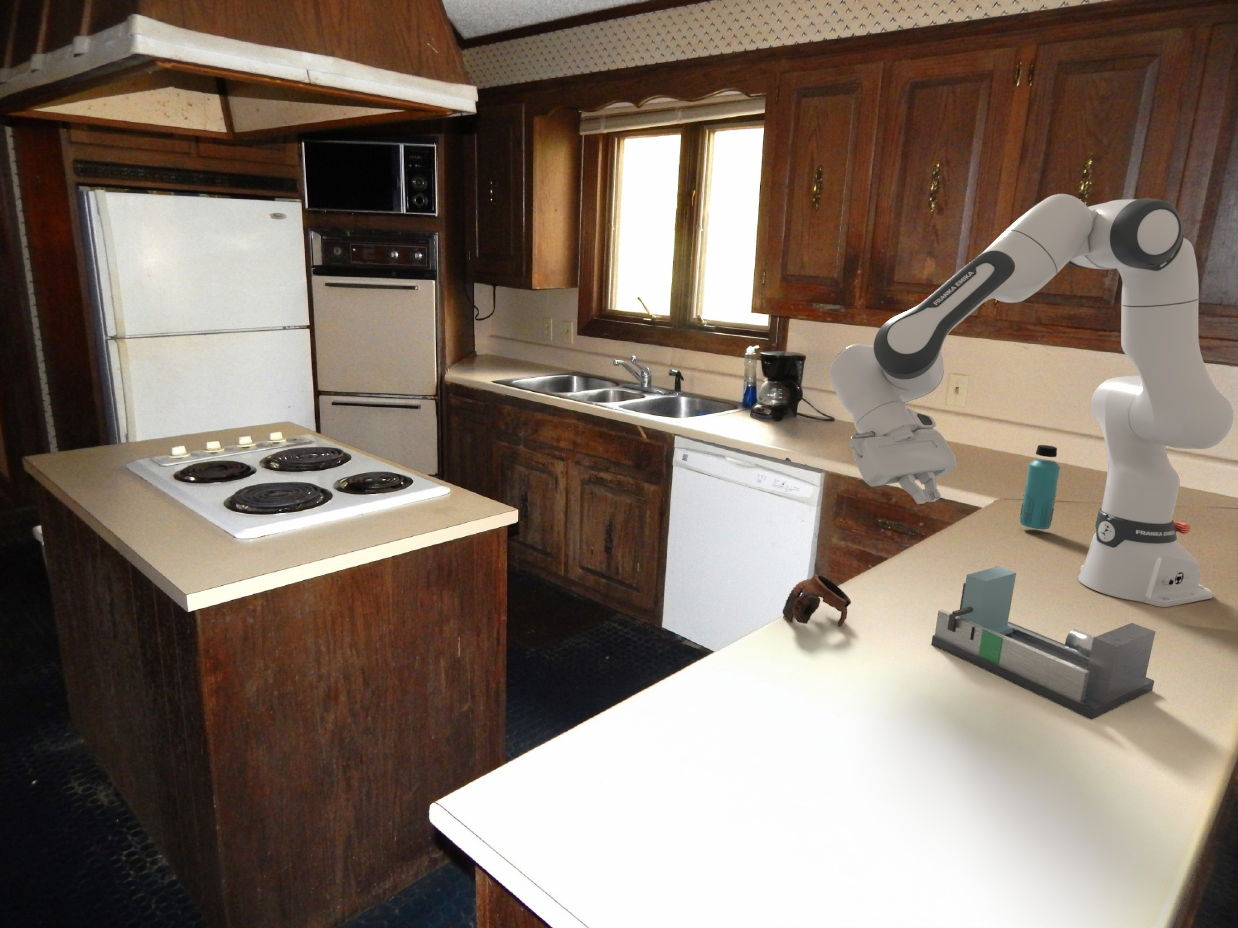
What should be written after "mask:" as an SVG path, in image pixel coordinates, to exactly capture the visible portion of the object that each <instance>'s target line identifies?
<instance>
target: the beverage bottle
mask: <svg viewBox="0 0 1238 928" xmlns="http://www.w3.org/2000/svg"><path fill="white" fill-rule="evenodd" d="M1057 451H1058V447H1056V446H1053V445H1047V444H1039V445H1037V447H1036V451H1035V455H1037V456H1041V457H1048V458H1057V454H1058V453H1057ZM1060 469H1061V467H1060V465H1059V464H1058V463H1057V462H1056V461H1054V460H1050V459H1045V458H1043V459H1042V458H1035V459H1033V460H1032V461H1030V462H1029V463H1028V470H1027V476H1026V484H1025V486H1024V493H1023V495H1022V496H1023V498H1022V504H1021V507H1020V509H1021V510H1020V514H1019V515H1020V517H1019V520H1020V521H1019V522H1020V525H1021V526H1023V527H1027V528H1030V529H1035V530H1048V529H1050V527H1051V526H1052V520H1053V516H1054V510H1055V508H1054V507H1055V503H1056V497H1057V490H1058V489H1057V486H1058V480H1059V475H1060Z"/></svg>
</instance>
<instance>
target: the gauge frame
mask: <svg viewBox="0 0 1238 928" xmlns="http://www.w3.org/2000/svg"><path fill="white" fill-rule="evenodd" d="M950 614H952V612H950V611H947V610H945V609H938V611H937V617H936V625H935V631H934V634H933V635H932V637H931V646H933V647H935V648H938V649H940V650H942V651H944V652H946V653H948V654H951V655H953V656H955V657H957V658H959V659H961V660H963V661H966V662H967V663H969V664H972V665H973V666H975V667H978V668H980V669H982V670H985V671H987V672H989V673H990V674H993V675H994V676H997V677H999V678H1001V679H1003V680H1006V681H1008V682H1010V683H1012V684H1013V685H1016V686H1019V687H1021V688H1023V689H1024V690H1027V691H1029V692H1031V693H1033V694H1035V695H1037V696H1039V697H1042V698H1045V699H1046V700H1049V701H1050V702H1053V703H1055V704H1057V705H1059V706H1061V707H1063V708H1066V709H1068V710H1070V711H1072V712H1074V713H1076V714H1079V716H1080V715H1081V716H1082V717H1085V718H1086V719H1089V720H1091V721H1092V720H1094V719H1096V718H1098V717H1100V716H1102V715H1105V714H1106V713H1109V712H1110V711H1113V710H1115V709H1117V708H1120V707H1121V706H1123V705H1126V704H1127V703H1129V702H1131V701H1134V700H1135V699H1137V698H1140V697H1142V696H1144V695H1145V694H1148V693H1150V692H1152V691H1153V689H1154V684H1155V680H1154V679H1152V678H1150V677H1147V673H1148V669H1149V662H1150V659H1151V654H1152V651H1153V645H1154V641H1155V635H1156V631H1155V630H1154V629H1150V628H1147V627H1145V626H1141V625H1139V624H1136V623H1135V622H1134V623H1133V622H1131V623H1128V624H1126V625H1123V626H1120V627H1118V628H1115V629H1112V630H1110V631H1107V632H1104V633H1101V634H1098V635H1097V636H1094V635H1091V634H1089V633H1086V632H1083V631H1080V630H1078V629H1076V628H1075V629H1074V628H1073V629H1071V630H1070V631H1069V632H1068V634H1067V636H1066V638H1065V643H1064V642H1063V643H1062V642H1060V641H1058V640H1055V639H1053V638H1051V637H1048V636H1046V635H1043V634H1041V633H1038V632H1036V631H1033V630H1030V629H1028V628H1025V627H1023V626H1021V625H1019V624H1016V623H1013V622H1011V621H1009V620H1008V625H1009V626H1011V627H1013V632H1012V633H1009V634H1006V635H1002V634H1000V633H998V632H995V631H993V630H990V629H988V628H986V627H983V626H981V625H979V624H976V623H974V622H972V621H969V620H967V619H964V618H962V617H960V616H957V617H955V623H954V630H952V631H950V630H948V622H949V616H950Z"/></svg>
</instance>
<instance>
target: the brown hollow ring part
mask: <svg viewBox="0 0 1238 928" xmlns="http://www.w3.org/2000/svg"><path fill="white" fill-rule="evenodd" d="M788 595H789V596H787V599H786V600H785V604H784V606H783V609H782V614H783V616H784V618H785V619H786V620H787V622H788V623H792V622H793V618H794V619H795V621H796V622H797V623H801V624H808V622H809V621H810V619H811V617H812V615H813V614H815V612H816V610H818V609H819V607H820V605H821V604H820V603H821V599H822V602H823V603H825V604H826V605H828V606H830V607H831V608H834V609H836V611H838V612H839V613H840V618H839V620H838V622H837V626H838V627H839V628H841V627H843V624H844V623H845V621H846V619H847V618H848V617H847V616H848V607H849V606H850V605H851V604H852V600H851V599H850V598H849V596H848V595H847V594H846V593H845V592H844V591H843V590H842V589H841V588H840V587H839V586H838V585H837V584H835V583H834V582H832V581H831V580H829V579H828V578H826V577H825V576H823V575H821V574H819V573H818V574H817V573H814V574H813V575H812V577H811V578H809V579H804V580H802V581H799V582H798V583H797V584H796V585H795V586H794V587H793V588H792V589H791V591H790V592H789V594H788Z"/></svg>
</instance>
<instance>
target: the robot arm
mask: <svg viewBox="0 0 1238 928" xmlns="http://www.w3.org/2000/svg"><path fill="white" fill-rule="evenodd" d="M1183 230H1184V226H1183V222H1182V218H1181V216H1180V214H1179V212H1178V210H1177V209H1176V207H1175V206H1174V205H1172V204H1171V203H1170V202H1167V201H1165V200H1161V199H1157V198H1149V197H1148V198H1147V197H1143V198H1138V199H1130V198H1129V199H1115V200H1114V199H1113V200H1110V201H1107V202H1103V203H1098V204H1094V205H1093V204H1090V205H1087V204H1086V203H1084V202H1083V200H1081V199H1079V198H1078V197H1077V196H1074V195H1071V194H1066V193H1057V194H1053V195H1050V196H1047V197H1046V198H1044V199H1043V200H1042V201H1040V202H1038V203H1036V204H1035V205H1034V206H1033V207H1031V208H1030V209H1029V210H1028V211H1026V212H1025V213H1024V214H1022V215H1021V216H1020V217H1018V219H1016V220H1015V221H1014V222H1013V223H1012V224H1011V225H1010V226H1008V227H1007V228H1006V229H1005V230H1004V231H1003V232H1002V233H1001V234H1000V235H999V236H998V237H997V238H996V239H995V240H994V241H993V242H992V243H991V244H990V245H989V246H988V247H986V249H985V250H984V251H982V252H981V253H980V254H979V255H978V256H977V257H975V258H974V259H972V260H971V261H969V262H968V263H967V264H966V265H964V266H963V267H962V268H961V269H959V270H958V271H957V272H956V273H955V274H954V275H953V276H952V277H950V278H949V279H948V280H947V281H946V282H945V283H943V284H942V285H941V286H940V287H938V289H936V290H935V291H934V292H933V293H931V294H930V295H929V296H928V297H927V298H925V299H924V300H923V301H921V303H919V304H918V305H916V306H914V307H913V308H911V309H907V311H904V312H902V313H899V314H898V315H895V316H893V317H892V318H890V319H889V320H887V321H886V322H885V323H883V324H882V326H880V328H879V329H878V331H877V333H876V334H875V337H874V341H873V344H869V345H868V344H863V343H854V344H851V345H848V346H847V347H845V348H844V349H842V350H841V351H840V352H839V353H838V354H837V355H836V356H835V358H834V359H833V361H832V362H831V364H830V367H829V378H830V382H831V384H832V387H833V389H834V391H835V394H836V396H837V398H838V400H839V401H840V404H841V405H842V406H843V409H844V410H845V411H846V412H847V413H848V414H849V415H850V416H851V417H852V420H853V424H854V428H855V429H856V431H857V432H855V433H853V434H852V435H851V437H850V439H849V445H850V448H851V449H852V454H853V459H854V461H855V464H856V466H857V468H858V470H859V471H858V472H860V475H861V478H862V479H863V481H864V482H865V483H866V484H867V485H868V486H870V487H880V486H885V485H893V484H899V485H900V488H902V490H904V491H905V492H906V493H907V494H909V495H910V496H911V497H912V498H913V500H914V501H915V503H916V504H918V505H920V504H921V505H922V504H925V503H927V502H928V503H931V502H932V503H934V502H936V501H938V500H940V498H941V496H942V495H941V493H940V491H939V489H938V488H937V478H939V477H945V476H947V474H948V473H950V472H952V471H953V470H955V468H957V465H958V463H957V458H956V455H955V454H954V451H953V450H952V448H951V447H950V445H949V444H948V442H947V440H946V438H945V437H944V436H943V435H942V433H941V432H939V431H938V430H937V429H934V428H935V427H937V423H936V421H935V419H934V418H933V417H932V416H931V415H928V414H923V413H921V412H917V411H915V410H913V409H911V408H908V407H907V405H905V403H909V402H911V401H914V400H917V399H919V398H922V397H925V396H927V395H929V394H930V393H932V392H934V391H935V390H936V389H937V388H938V386H939V385H940V384H941V383H942V380H943V378H944V373H945V369H944V368H945V367H944V358H943V354H942V349H943V345H944V343H945V342H946V341H945V340H946V338H947V336H948V335H949V333H951V331H952V330H953V329H954V328H956V327H957V326H959V324H961V323H962V322H963V321H964V320H965V319H966V318H967V317H969V316H970V315H971V314H972V313H973V312H975V310H977V309H978V308H979V307H981V305H982V304H984V303H985V302H987V301H989V300H992V299H995V301H996V300H997V301H999V302H1002V303H1009V304H1012V303H1013V304H1014V303H1020V302H1023V301H1025V300H1026V299H1028V298H1030V297H1031V296H1033V295H1034V294H1036V293H1037V292H1038V291H1040V290H1041V289H1042V288H1044V287H1045V285H1046V284H1048V283H1049V282H1050V281H1051V280H1052V279H1053V278H1054V277H1055V276H1056V275H1057V274H1058V273H1059V272H1060V271H1062V269H1064V267H1065V266H1066V265H1070V266H1073V267H1075V268H1080V269H1094V270H1095V269H1097V270H1115V269H1116V270H1117V272H1118V273H1119V275H1120V277H1121V281H1122V286H1121V287H1122V288H1121V301H1120V302H1121V304H1120V305H1121V309H1120V311H1121V312H1120V313H1121V320H1120V321H1121V322H1120V323H1121V325H1120V328H1121V329H1120V334H1121V335H1120V339H1121V340H1120V345H1121V348H1122V352H1123V353H1124V354H1125V355H1126V356H1127V358H1129V360H1130V361H1131V362H1132V364H1133V365H1134V367H1135V369H1136V371H1137V373H1138V375H1125V376H1117V377H1115V376H1114V377H1111V378H1108V379H1106V380H1105V381H1102V383H1100V384H1099V385H1098V386H1097V388H1096V389H1095V390H1094V392H1093V394H1092V397H1091V400H1090V401H1091V402H1090V408H1091V409H1090V411H1091V414H1092V416H1093V418H1094V419H1095V420H1096V422H1097V424H1098V425H1099V427H1100V429H1101V432H1102V435H1103V439H1104V440H1103V441H1104V443H1105V450H1106V456H1107V459H1106V460H1107V473H1106V474H1107V475H1106V479H1105V480H1106V482H1105V487H1104V494H1103V499H1102V505H1101V507H1100V508H1099V509H1098V511H1097V514H1096V517H1095V518H1096V520H1095V526H1094V527H1095V531H1096V532H1095V533H1094V534H1093V537H1092V539H1091V543H1090V545H1089V548H1088V550H1087V551H1088V552H1087V554H1086V558H1085V561H1084V563H1083V564H1081V565H1080V568H1079V569H1080V573H1079V574H1078V576H1077V580H1078V581H1079V582H1080V583H1081V584H1082V585H1084V586H1086V587H1087V588H1090V589H1091V590H1093V591H1097V592H1099V593H1102V594H1105V595H1108V596H1112V597H1116V598H1119V599H1124V600H1127V601H1129V600H1131V601H1134V602H1140V603H1145V604H1147V605H1152V606H1156V607H1161V608H1167V607H1171V606H1172V607H1173V606H1178V605H1183V604H1189V603H1194V602H1199V601H1204V600H1209V599H1213V596H1214V593H1213V592H1212V590H1210V589H1209V588H1208V587H1206V586H1204V585H1202V584H1201V583H1200V581H1201V579H1200V578H1201V565H1200V563H1199V561H1198V560H1197V559H1196V558H1195V557H1194V556H1193V555H1192V554H1191V553H1190V552H1189V551H1188V550H1187V549H1186V548H1185V547H1183V546H1182V544H1180V542H1179V541H1177V533H1180V534H1182V535H1187V534H1189V532H1191V529H1192V528H1191V525H1190V524H1189V523H1187V522H1183V521H1180V520H1178V521H1176V522H1175V521H1174V520H1173V516H1174V512H1175V509H1176V508H1175V507H1176V504H1177V499H1178V495H1179V489H1180V485H1181V482H1180V477H1179V474H1178V472H1177V470H1175V468H1174V467H1173V466H1172V464H1171V461H1170V460H1169V458H1168V453H1167V448H1166V447H1168V448H1173V449H1179V450H1180V449H1181V450H1207V449H1210V448H1213V447H1216V446H1217V445H1218V444H1220V443H1221V442H1222V441H1223V440H1225V438H1226V437H1227V436H1228V434H1229V433H1230V431H1231V429H1232V427H1233V424H1234V423H1233V422H1234V410H1233V405H1232V404H1231V402H1230V401H1229V400H1228V399H1227V397H1225V395H1223V394H1222V393H1221V392H1220V391H1219V390H1218V389H1217V386H1216V385H1215V384H1214V383H1213V380H1212V378H1211V377H1210V375H1209V371H1208V370H1207V367H1206V365H1205V362H1204V359H1203V356H1202V353H1201V348H1200V339H1199V303H1200V302H1199V299H1200V298H1199V297H1200V293H1199V292H1200V291H1199V290H1200V287H1199V274H1198V273H1199V272H1198V266H1197V265H1198V263H1197V257H1196V254H1195V250H1194V246H1193V244H1192V243H1191V242H1190V240H1188V239H1187V238H1185V237H1184V231H1183ZM915 481H919V482H920V484H921V485H924V489H922V488H921V487H920V486H919V484H918V483H917V482H915Z"/></svg>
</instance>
